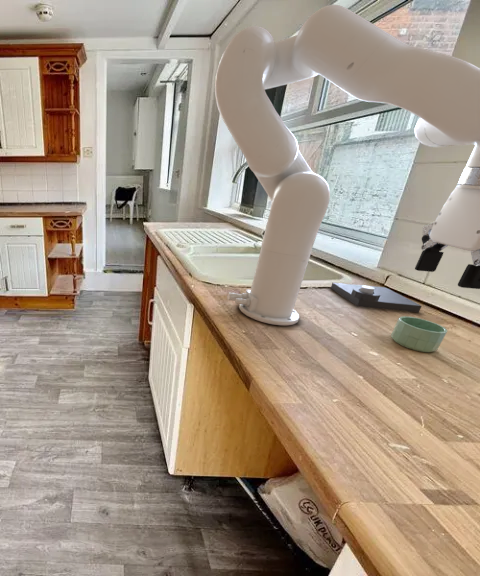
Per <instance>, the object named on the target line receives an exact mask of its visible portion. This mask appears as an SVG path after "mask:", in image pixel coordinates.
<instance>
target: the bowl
mask: <svg viewBox="0 0 480 576" xmlns="http://www.w3.org/2000/svg"><path fill="white" fill-rule="evenodd" d="M447 333H448V329H447V328H446V327H445V326H443V325H441V324H439V323H436V322H433V321H431V320H427V319H425V318H419V317H415V316H407V315H403V316H399V317H398V319H397V321H396V323H395V325H394V327H393V330H392V331H391V333H390V337H391V338H392V340H393V341H394V342H395V343H397V344H398V345H399V346H402V347H405V348H406V349H410V350H413V351H417V352H422V353H432V352H437V351H438V350H439V348H440V346H441V344H442V342H443V340H444V338H445V337H446V335H447Z"/></svg>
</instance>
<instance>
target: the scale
mask: <svg viewBox="0 0 480 576" xmlns="http://www.w3.org/2000/svg"><path fill="white" fill-rule="evenodd" d="M362 286H363V285H362V284H353V283H352V284H351V283H342V282H332V283H331V285H330V289H331V291H333V292H335V293H337V294H338V295H340V297H343V298H344V299H346V300H347V301H349V302H350V303H351V304H353V305H354V306H356V307H362V308H372V309H381V310H390V311H400V312H412V313H420V311H421V308H422V305H421V304H419V303H417V302H415V301H413V300H411V299H409V298H407V297H405V296H403V295H402V294H400V293H398V292H395V291H394V290H391V289H390V288H387V287H385V286H376V285H375V286H373V285H369V286H370V287H373V288H375V289H374V292H373V294H368V293H364V292H361V291H360V289H361V287H362Z"/></svg>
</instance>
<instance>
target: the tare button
mask: <svg viewBox="0 0 480 576" xmlns="http://www.w3.org/2000/svg"><path fill="white" fill-rule="evenodd" d="M370 286H371V285H363V286H362V287H361V289H360V291H361V292H364V293H368V294H373V292H374V289H375V288H373V287H370Z"/></svg>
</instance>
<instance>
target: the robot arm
mask: <svg viewBox="0 0 480 576" xmlns="http://www.w3.org/2000/svg"><path fill="white" fill-rule="evenodd" d="M317 76H321V77H322V78H324V79H325V80H327V81H329V82H330V83H332V84H333V85H335V86H336V87H337V88H339V89H341V90H342V91H343V92H345V93H346V94H348V95H349V96H351V97H353V98H355V99H357V100H360V101H363V102H368V103H381V104H387V105H391V106H394V107H397V108H400V109H402V110H404V111H407V112H409V113H411V114H412V115H415V116H416V117H418V118H419V119H418V120H417V122H416V125H415V127H414V136H415V138H416V139H417V141H418V142H419V143H420V144H422V145H424V146H427V147H431V148H446V147H457V146H470V145H473V146H474V148H473V150H472V151H471V154H470V156H469V159H468V160H467V163H466V165H465V167H464V169H463V171H462V173H461V176H460V177H459V180H458V183H457V184H456V186H455V187H454V189H453V190H452V191H451V193H450V194H449V196H448V198H447V199H446V201H445V203H444V204H443V206H442V207H441V209H440V211H439V213H438V214H437V216H436V219H435V221H433V222H430V223H428V224H425V225H423V226H422V237H421V242H422V245H421V247H420V248H421V250H422V251H421V253H420V256H419V258H418V260H417V262H416V265H415V267H414V270H415V271H419V272H430V273H433V272H436V270H437V268H438V266H439V264H440V262H441V259H442V258H443V256H444V253H445V252H443V250H444V249H446V248H447V247H448V246H449V247H452V248H456V249H460V250H464V251H469V252H470V257H471V261H472V264H470V263H468V264H467V265H466V267H465V268H464V271H463V273H462V275H461V276H460V279H459V281H458V283H457V286H458V287H459V288H463V289H475V290H480V67H478V66H476V65H475V64H472V62H468V61H467V60H464V59H461V58H459V57H456V56H452V55H449V54H446V53H442V52H437V51H433V50H430V49H427V48H424V47H418V46H414V45H410V44H408V43H406V42H404V41H402V40H401V39H399V38H397V37H395V36H393V34H390V33H389V32H387V31H385V30H383V29H382V28H381V27H379V26H376V25H375V24H374V23H372V22H371V21H369V20H367V19H365V18H364V17H362V16H361V15H359V14H357V13H355V12H354V11H352V10H350V9H349V8H347V7H345V6H344V5H340V4H329V5H328V4H327V5H325V6H322V7H320V8H319V9H317V10H316V11H314V12H313V13H312V14H311V15H309V17H308V18H307V19H306V20H305V21H304V23H303V24H302V25H301V27H300V29H299V30H298V32H297V34H296V35H293V36H291V37H287V38H284V39H280V40H277V41H275V39H274V37H273V35H272V34H271V32H269V31H268V29H266V28H265V27H262V26H260V25H249V26H246V27H244V28H242V29H241V30H239V31H238V32H237V33H236V34H235V35H234V36H233V37H232V38H231V39H230V41H229V42H228V44H227V46H225V49H224V50H223V52H222V55H221V57H220V60H219V63H218V66H217V69H216V74H215V81H214V84H215V85H214V95H215V101H216V106H217V109H218V112H219V114H220V116H221V119H222V120H223V122H224V125H225V126H226V128H227V129H228V132H229V133H230V134H231V136H232V138H233V140H234V142H235V143H236V145H237V146H238V148H239V150H240V152H241V153H242V155H243V157H244V158H245V160H246V163H247V166H248V168H249V169H250V170H251V172H253V174H254V176H255V177H256V179H257V180H258V182H259V183H260V185H261V186H262V188H263V190H264V191H265V193H266V194H267V196H268V197H269V199H270V200H271V206H270V210H269V214H268V218H267V222H266V225H265V229H264V234H263V238H262V241H261V246H260V251H259V255H258V259H257V263H256V267H255V271H254V275H253V279H252V283H251V287H250V289H246V290H245V292H241V293H236V292H227V296H226V301H233V302H234V304H235V305H238V308H239V311H240V312H241V313H242V314H244V315H245V316H247V317H249V318H251V319H252V320H256V321H258V322H261V323H265V324H269V325H275V326H292V325H295V324H297V323H298V322H299V320H300V314H299V313H298V312H297V311H296V309H295V305H296V302H297V299H298V296H299V293H300V290H301V286H302V283H303V280H304V277H305V274H306V271H307V267H308V263H309V261H310V257H311V255H312V251H313V248H314V245H315V241H316V238H317V235H318V232H319V230H320V228H321V225H322V222H323V220H324V218H325V215H326V213H327V210H328V209H329V208H328V207H329V204H330V199H331V190H330V186H329V183H328V182H327V181H326V179H325V178H324V177H323V176H321V175H320V174H318V173H315V172H313V170H312V168H311V167H310V166H309V164H308V162H307V161H306V159H305V158H304V156H303V155H302V153H301V151H300V149H299V142H298V140H297V138H296V136H295V134H293V133H292V132H291V130H290V129H289V127H287V125H286V124H285V122H284V120H283V119H282V118H281V116H280V114H279V113H278V112H277V110H276V109H275V107H274V105H273V103H272V101H271V100H270V98H269V96H268V94H267V92H266V90H270V89H273V88H277V87H278V88H279V87H282V86H286V85H289V84H295V83H297V82H302V81H305V80H308V79H311V78H314V77H317Z"/></svg>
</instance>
